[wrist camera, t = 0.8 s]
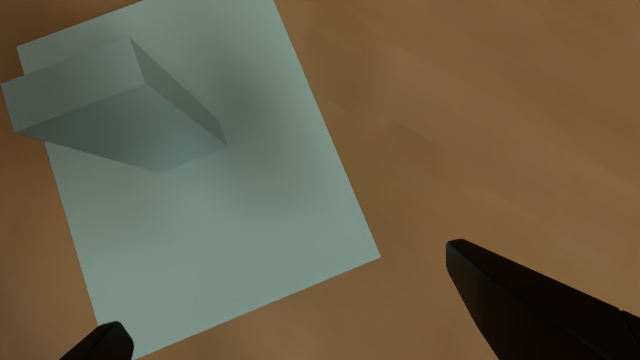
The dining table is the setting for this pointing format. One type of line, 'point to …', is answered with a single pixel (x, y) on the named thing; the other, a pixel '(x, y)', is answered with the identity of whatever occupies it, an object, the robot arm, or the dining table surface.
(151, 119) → the lid
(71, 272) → the dining table surface
